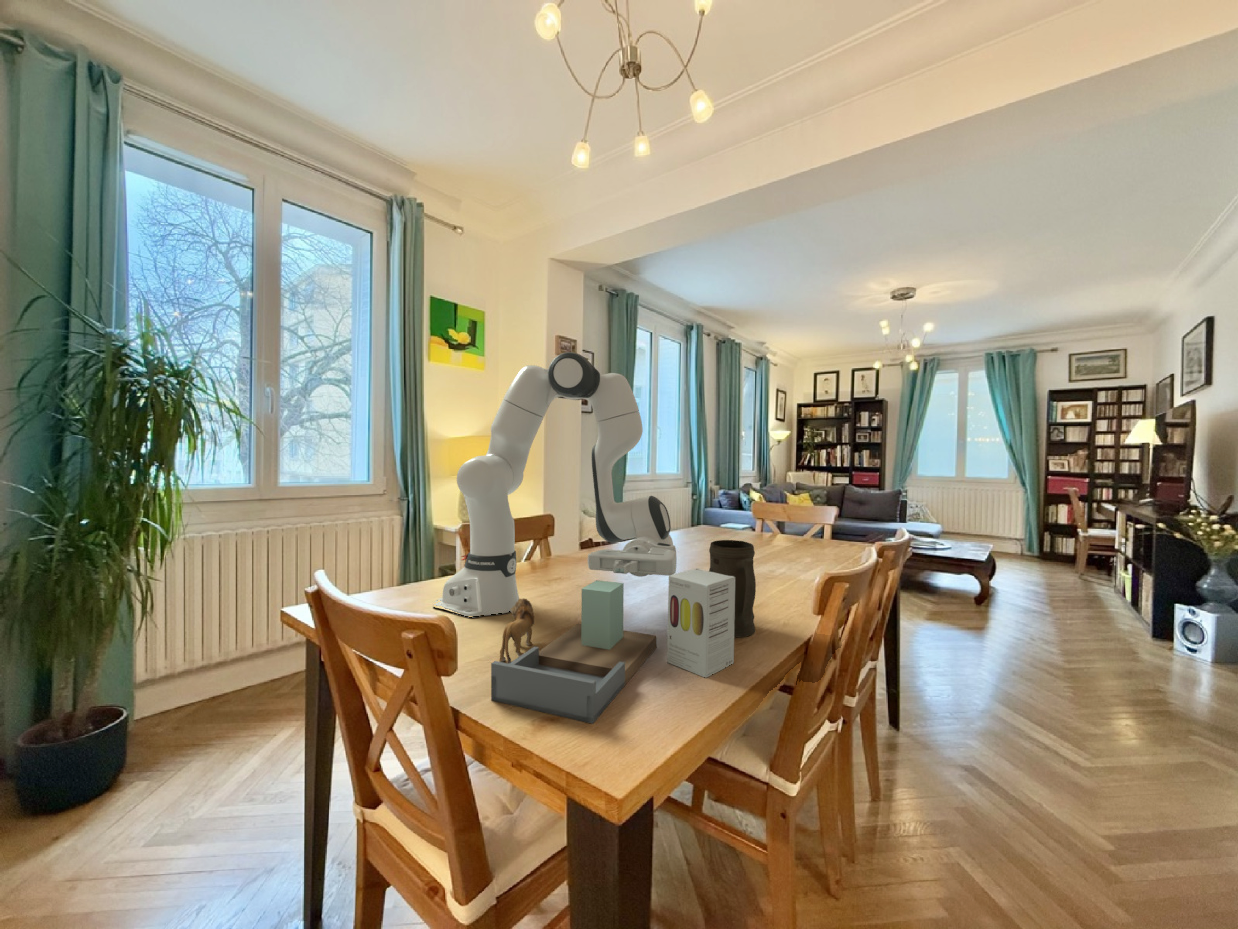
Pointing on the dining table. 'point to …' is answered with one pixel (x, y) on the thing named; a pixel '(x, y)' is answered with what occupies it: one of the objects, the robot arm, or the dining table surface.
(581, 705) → the box
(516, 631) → the lion figurine
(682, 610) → the supplement box
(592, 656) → the brown wooden board
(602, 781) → the dining table surface
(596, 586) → the sage block
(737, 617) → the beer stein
